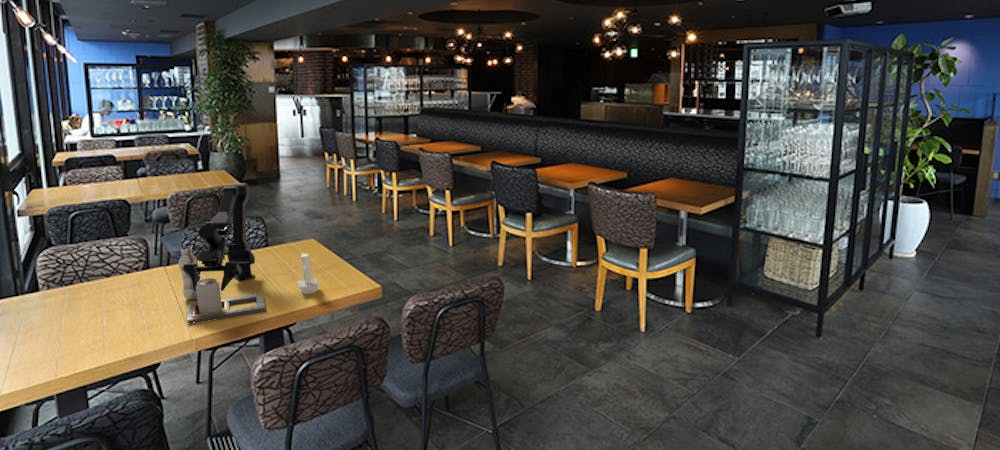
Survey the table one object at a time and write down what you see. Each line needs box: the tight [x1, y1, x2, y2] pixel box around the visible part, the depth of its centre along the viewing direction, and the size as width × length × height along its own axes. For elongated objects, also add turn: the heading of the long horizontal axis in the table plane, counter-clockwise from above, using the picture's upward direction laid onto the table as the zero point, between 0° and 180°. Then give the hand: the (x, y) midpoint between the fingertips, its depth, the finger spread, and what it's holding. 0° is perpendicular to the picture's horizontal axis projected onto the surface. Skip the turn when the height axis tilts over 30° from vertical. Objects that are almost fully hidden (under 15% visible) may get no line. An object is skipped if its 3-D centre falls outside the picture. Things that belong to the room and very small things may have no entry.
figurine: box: [296, 252, 320, 295], centre depth 230 cm, size 7×9×15 cm
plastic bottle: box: [177, 246, 199, 301], centre depth 224 cm, size 6×7×20 cm
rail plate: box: [186, 292, 267, 324], centre depth 216 cm, size 25×15×2 cm, turn 115°
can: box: [196, 278, 223, 314], centre depth 212 cm, size 8×8×12 cm
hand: (208, 290), depth 212 cm, fingers open, 9 cm apart
